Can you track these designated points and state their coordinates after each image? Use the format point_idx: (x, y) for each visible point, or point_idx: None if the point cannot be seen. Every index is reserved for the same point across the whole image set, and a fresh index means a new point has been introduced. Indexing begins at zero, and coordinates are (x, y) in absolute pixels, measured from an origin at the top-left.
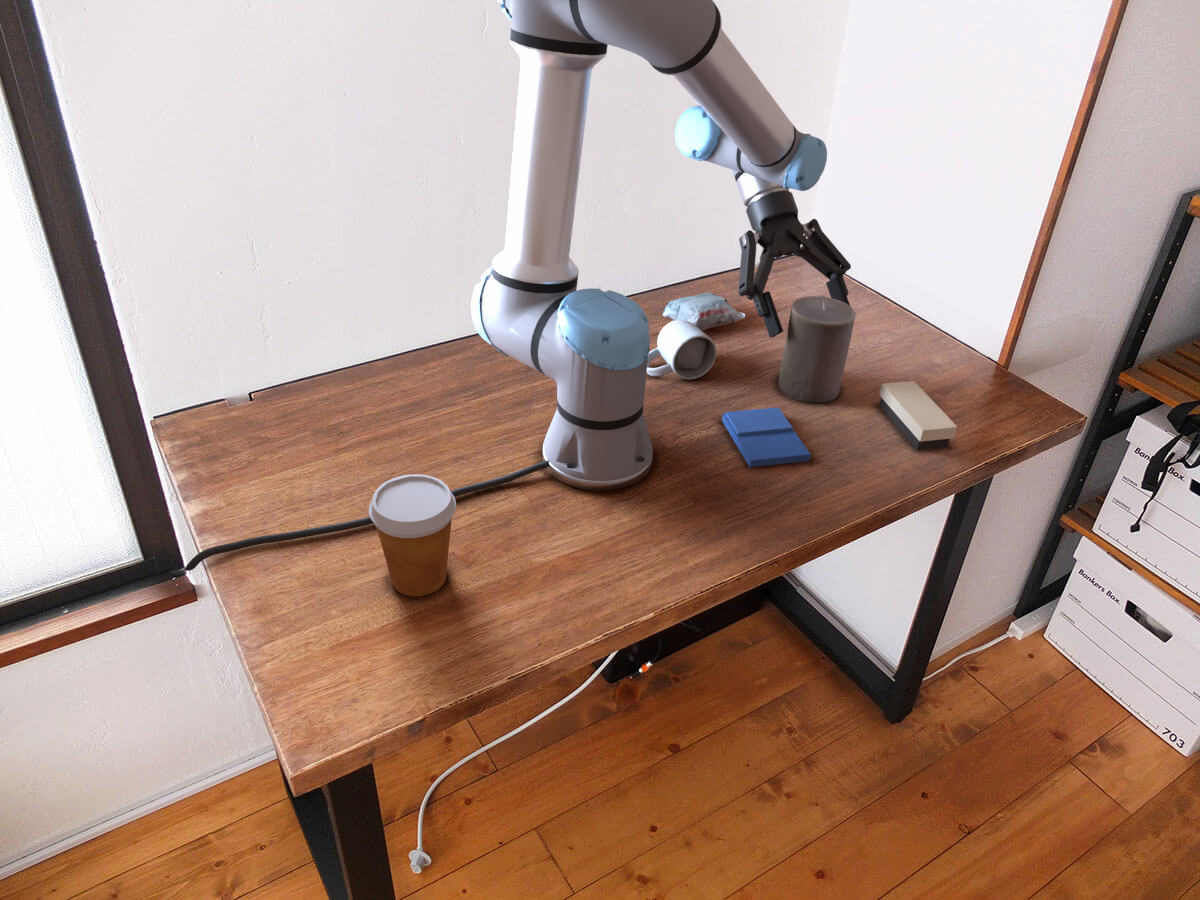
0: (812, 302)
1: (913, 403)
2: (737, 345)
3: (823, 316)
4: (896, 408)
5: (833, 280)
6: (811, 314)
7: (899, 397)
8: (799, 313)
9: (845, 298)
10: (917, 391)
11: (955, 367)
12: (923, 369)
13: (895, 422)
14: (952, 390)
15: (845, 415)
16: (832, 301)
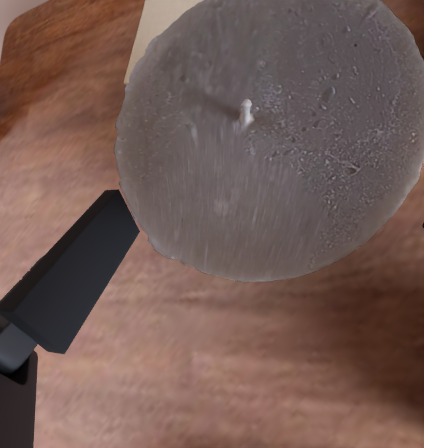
0: (253, 202)
1: (176, 12)
2: (312, 415)
3: (301, 48)
4: None
5: (37, 316)
6: (351, 82)
7: None
8: (419, 109)
9: (78, 227)
10: (142, 48)
11: (28, 169)
12: (66, 180)
13: None
14: (73, 116)
15: None
16: (156, 180)
